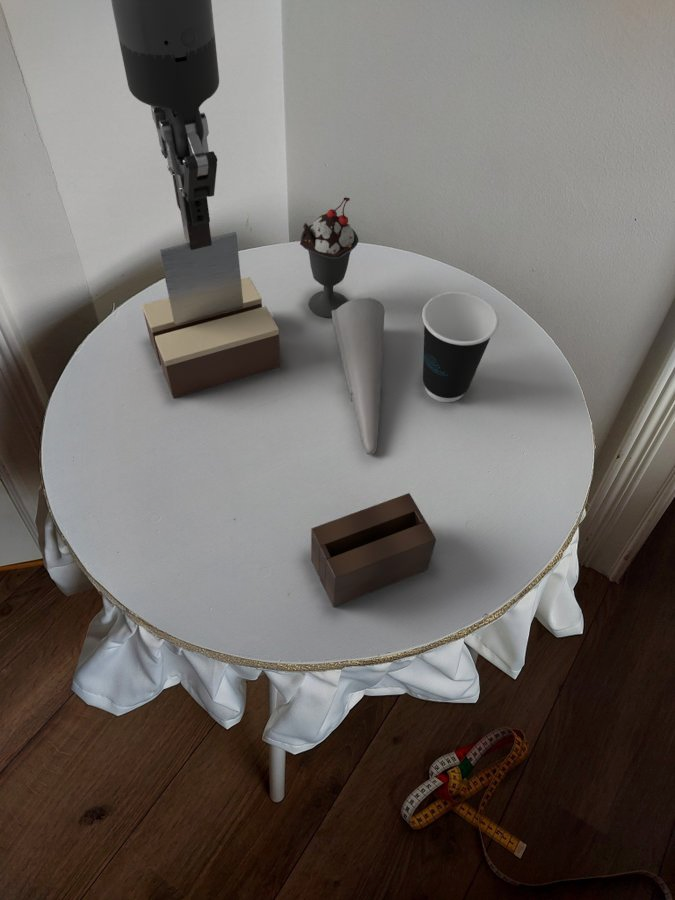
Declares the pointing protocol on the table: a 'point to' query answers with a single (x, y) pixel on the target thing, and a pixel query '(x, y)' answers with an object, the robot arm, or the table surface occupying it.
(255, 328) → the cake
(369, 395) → the long tapered cone
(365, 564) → the knife stand
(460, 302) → the dixie cup
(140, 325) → the table surface
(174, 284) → the knife
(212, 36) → the robot arm
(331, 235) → the sundae
